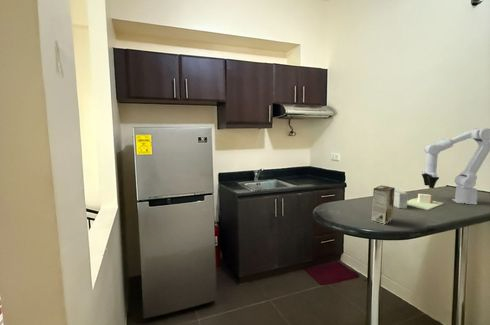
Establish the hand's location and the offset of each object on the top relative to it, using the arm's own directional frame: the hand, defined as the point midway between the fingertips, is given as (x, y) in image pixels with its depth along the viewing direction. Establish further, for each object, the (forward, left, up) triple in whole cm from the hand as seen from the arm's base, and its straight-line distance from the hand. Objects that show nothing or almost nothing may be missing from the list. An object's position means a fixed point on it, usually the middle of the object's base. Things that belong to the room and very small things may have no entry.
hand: (428, 186), depth 155 cm
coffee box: (+33, +49, -9) cm, 59 cm away
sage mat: (+6, +11, -8) cm, 15 cm away
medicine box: (+20, +21, -9) cm, 30 cm away
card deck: (+4, +9, -8) cm, 12 cm away
